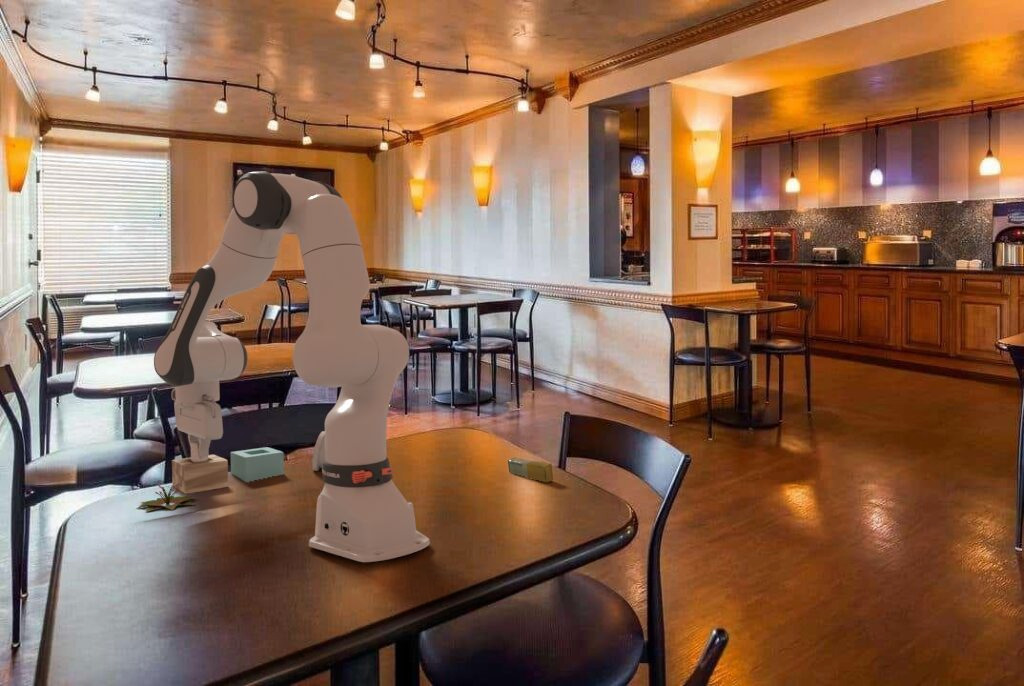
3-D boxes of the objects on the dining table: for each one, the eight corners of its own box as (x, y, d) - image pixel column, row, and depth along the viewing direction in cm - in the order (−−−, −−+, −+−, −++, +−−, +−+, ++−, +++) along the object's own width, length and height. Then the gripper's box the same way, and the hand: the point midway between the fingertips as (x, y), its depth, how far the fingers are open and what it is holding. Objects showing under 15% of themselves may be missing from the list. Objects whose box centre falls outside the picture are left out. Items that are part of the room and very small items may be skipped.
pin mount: (228, 486, 155) (227, 460, 155) (185, 493, 149) (185, 466, 149) (213, 479, 162) (213, 454, 161) (172, 486, 156) (171, 460, 155)
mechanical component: (321, 466, 174) (326, 427, 174) (338, 469, 174) (344, 430, 174) (308, 475, 164) (314, 434, 164) (326, 478, 164) (333, 437, 164)
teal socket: (283, 477, 164) (283, 452, 164) (245, 483, 158) (245, 457, 157) (268, 471, 170) (267, 447, 170) (231, 477, 164) (230, 452, 164)
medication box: (508, 476, 164) (506, 459, 164) (516, 473, 166) (514, 457, 166) (546, 483, 156) (544, 465, 155) (554, 479, 158) (552, 462, 157)
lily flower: (137, 518, 132) (137, 494, 132) (131, 504, 142) (130, 482, 142) (205, 508, 139) (204, 486, 139) (194, 496, 149) (194, 474, 149)
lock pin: (211, 482, 155) (210, 442, 155) (194, 484, 153) (193, 444, 152) (205, 479, 158) (204, 440, 157) (189, 482, 155) (188, 442, 155)
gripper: (229, 395, 149) (231, 459, 149) (197, 389, 164) (198, 447, 165) (199, 398, 145) (200, 464, 145) (168, 391, 160) (170, 450, 160)
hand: (199, 455), depth 155 cm, fingers closed on lock pin, 3 cm apart
